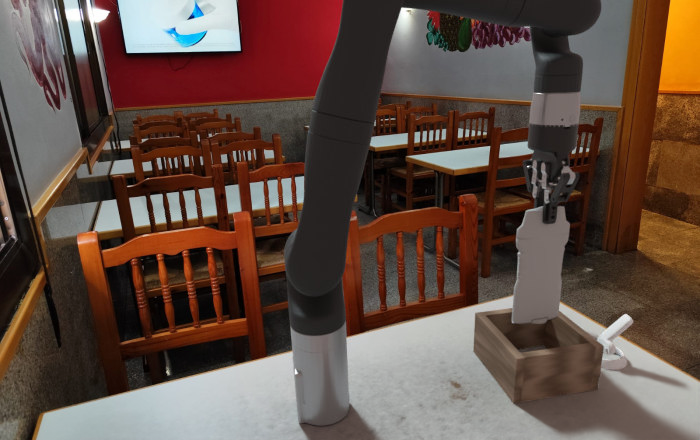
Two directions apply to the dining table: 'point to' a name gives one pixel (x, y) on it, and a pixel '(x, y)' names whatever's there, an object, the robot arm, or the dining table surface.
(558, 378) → the open wooden box
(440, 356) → the dining table surface
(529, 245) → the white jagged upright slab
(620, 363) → the white vr controller
